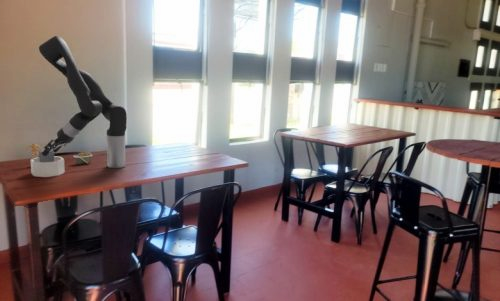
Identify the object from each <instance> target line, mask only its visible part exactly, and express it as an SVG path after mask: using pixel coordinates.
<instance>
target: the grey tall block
mask: <svg viewBox="0 0 500 301" xmlns="http://www.w3.org/2000/svg"><path fill="white" fill-rule="evenodd" d="M44 150H45V149H43V151H44ZM43 151H42V150H41V151H39V152H38V157H39V158H40V162H54V156H55V152H54V150H52V151H50V152H49V153H48V154H47V155H46V156H43V155H42V152H43Z"/></svg>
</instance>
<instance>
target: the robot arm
mask: <svg viewBox="0 0 500 301" xmlns="http://www.w3.org/2000/svg"><path fill="white" fill-rule="evenodd" d="M38 50H39V53H40V55H41V56H43V58H44V59H45V60H46V61H47V62H48V63H49V64H50V65H51V66H53V67H54V68H55V69H56V70H57V71H59V72H60V74H62V75H63V76H64V77H66V80H67V84H68V87H69V88H70V91H71V92H72V93H73V95H74V96H75V98H76V102H77V104H78V105H77V106H78V108H79V110H80V111H79V112H77V113H76V114H74V115H73V116H72V117H71V118H70V119H69V120H68V121H67V122H65V124H63V126H62V127H61V128H60V129H59V130H58V131H57V132H56V135H57V137H56V138H54V139H51V140H50V141H49V142H48V143H47V144H46V145H45V146H44V147H43V148H44V149H43V150H44V151H43V152H42V155H43V156H46V155H47V154H48V153H49V152H50V151H52V150H54V154H55V153H58V151H60V149H63V147H66V145H67V144H71V142H73V140H75V138H77V136H78V135H80V134H81V132H82V131H83V130H84V129H85V127H87V125H88V124H89V123H91V122H92V121H93V120H95V119H96V118H98V117H99V116H100V115H101V114H102V116H103V117H104V118H105V119H106V121H109V128H108V129H106V154H107V155H106V157H107V158H106V159H107V161H106V162H107V168H111V169H121V168H125V167H126V131H127V116H128V115H127V111H126V109H125V107H123V106H122V105H118V104H115V103H114V102H112V101H111V100H110V99H109V98H108V97H107V96H106V95H105V93H104V92H103V89H102V88H101V86H100V85H99V83H98V81H97V80H96V79H94V77H93V76H92V75H91V74H90V73H88V72H87V71H85V70H83V69H81V68H80V69H79V68H78V65H77V63H76V60H75V58H74V56H73V54H72V51H71V50H70V47H69V45H68V44H67V43H66V41H65V40H64V39H63V38H62V37H61V36H57V35H55V36H53V37H51V38H50V39H47V41H44V42H43V43H42V44H40V45H39V47H38ZM62 58H63V59H64V61H63V60H62Z"/></svg>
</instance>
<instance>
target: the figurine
mask: <svg viewBox="0 0 500 301" xmlns="http://www.w3.org/2000/svg"><path fill="white" fill-rule="evenodd" d="M37 147H38V148H40V149H41V151H43V150H44V149H43V148H42V146H40V145H38V144H36V143H35V142H33V143H31V145H29V146H27V147H26V149H25V152H28V149H30V148H31V149H32V150H31V154H32V159H34V158H37V157H38V155H39V152H38V149H37ZM35 154H36V155H35Z"/></svg>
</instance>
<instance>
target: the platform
mask: <svg viewBox="0 0 500 301" xmlns="http://www.w3.org/2000/svg"><path fill="white" fill-rule="evenodd" d="M92 157H93V153H91V152H90V151H86V152H83V151H82V152H78V154H77V155H73V158H75V165H82V164H90V163H91V161H92V160H91V158H92ZM89 162H90V163H89Z"/></svg>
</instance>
